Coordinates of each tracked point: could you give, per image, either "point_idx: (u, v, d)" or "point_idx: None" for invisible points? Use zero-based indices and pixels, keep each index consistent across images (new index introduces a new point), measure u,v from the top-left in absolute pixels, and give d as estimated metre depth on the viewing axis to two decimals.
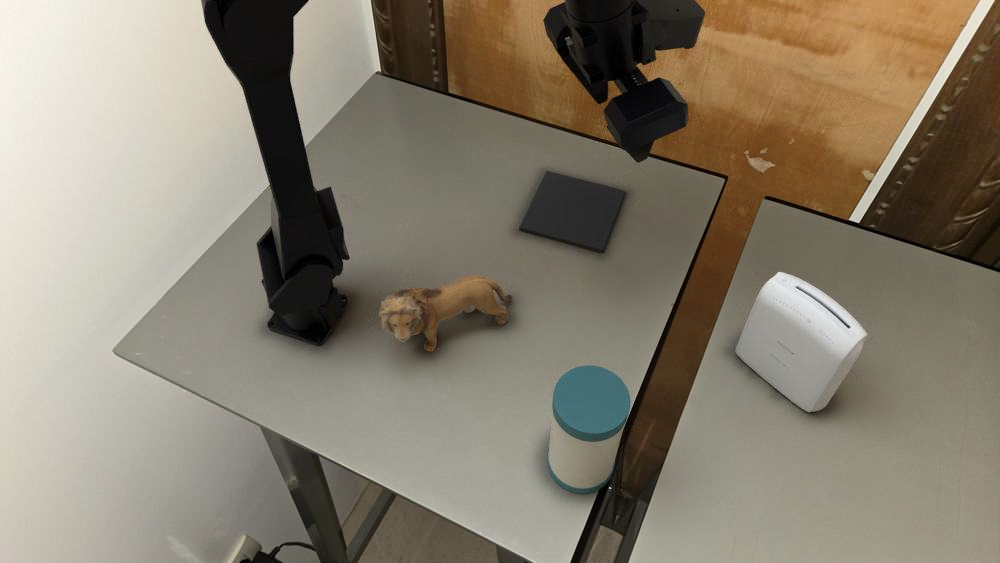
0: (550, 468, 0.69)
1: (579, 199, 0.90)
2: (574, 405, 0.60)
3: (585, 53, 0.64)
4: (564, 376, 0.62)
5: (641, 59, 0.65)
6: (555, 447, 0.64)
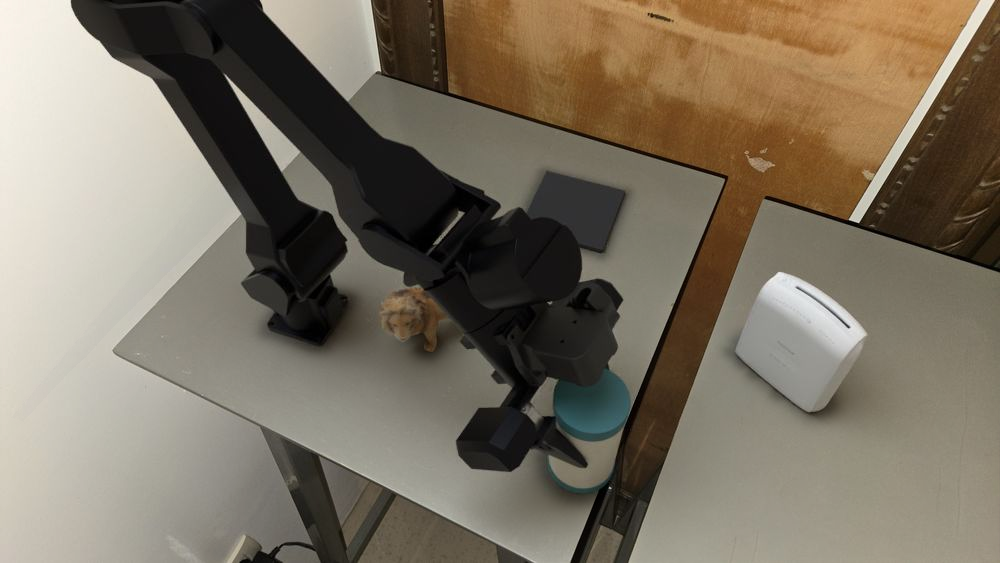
0: (550, 468, 0.69)
1: (579, 199, 0.90)
2: (574, 405, 0.60)
3: None
4: None
5: None
6: None
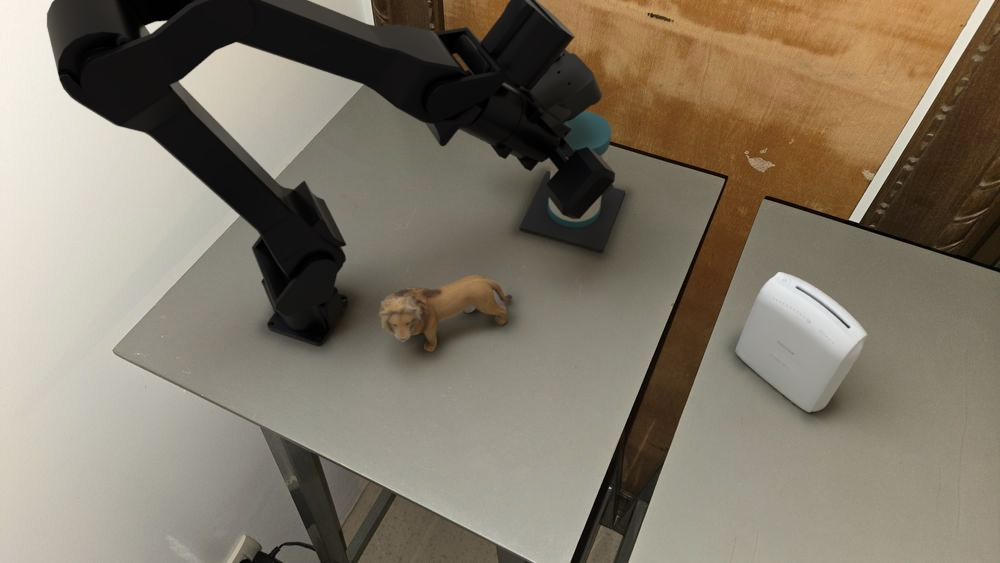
0: (570, 221, 0.86)
1: None
2: (580, 139, 0.78)
3: (512, 154, 0.75)
4: None
5: (559, 135, 0.74)
6: None
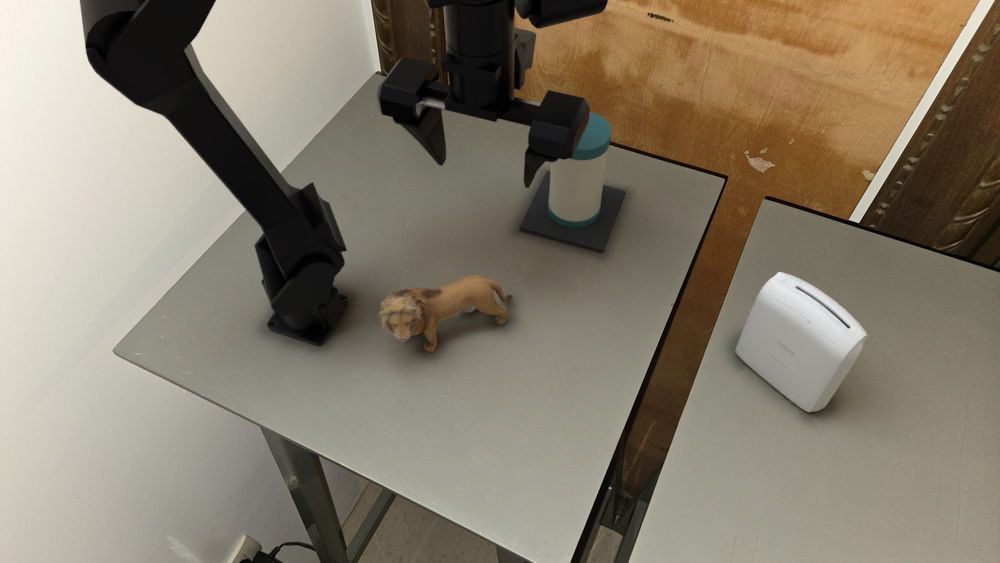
0: (570, 221, 0.86)
1: None
2: (580, 139, 0.78)
3: (486, 92, 0.64)
4: None
5: (518, 84, 0.67)
6: (577, 190, 0.82)
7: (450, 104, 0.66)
